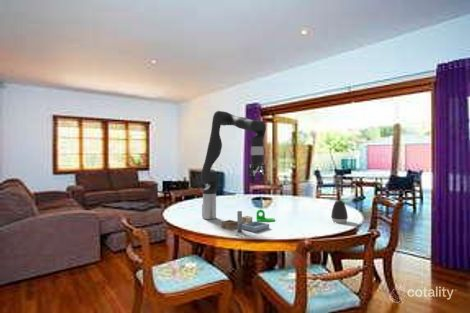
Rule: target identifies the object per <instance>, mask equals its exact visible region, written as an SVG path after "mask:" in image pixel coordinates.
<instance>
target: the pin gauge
mask: <svg viewBox="0 0 470 313" xmlns="http://www.w3.org/2000/svg"><path fill="white" fill-rule="evenodd" d="M242 217H243V211H242V210H238V211H237V228H236V229H237V231H236V232H237V233H240V234H241V233H242V232H243V230H242Z"/></svg>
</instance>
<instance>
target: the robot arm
mask: <svg viewBox="0 0 470 313" xmlns="http://www.w3.org/2000/svg"><path fill="white" fill-rule="evenodd" d="M221 126H224V127H225V126H234V127H236V128H238V129H241V130H245V131H249V132H251V133H255V136H252V137H251V140H250V142H251V144H250V163H251V164H248V176H249V175H250V182H251V183H255V182H256V173H258V174H259V182H263V181H264V175H265V174H266V164H265V163H264V159H265V158H264V156H265V155H264V154H265V153H264V152H265V151H264V138H265V136H266V134H265V133H266V130H267V129H266V128H267V126H266V124H265V122H264V121H263V120H256V119H251V118H247V117H244V116H243V117H242V116H236V115H234V114H231V113H229V112H227V111H224V110H223V111H222V110H217V111H215V112H214V113H213V116H212V123H211V129H210V136H209V142H208V145H207V150H206V155H205V160H204V163H203V166H202V169H201V172H200V183H201V184H203V185H207V186H206V187H205V188H203V190H202V203H201V218H202V219H205V220H214V219H217V190H218V173H217V171H215V170H213V169H212V167H213V165H214V164H215V162H216V161H217V160H218V158H219V157H220V155H221V152H222V148H223V142H222V138H221V136H220V131H221Z"/></svg>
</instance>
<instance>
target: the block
mask: <svg viewBox="0 0 470 313" xmlns="http://www.w3.org/2000/svg"><path fill="white" fill-rule="evenodd" d="M250 222H253V216H249V215H244V216H243V215H242V224H246V223H250Z"/></svg>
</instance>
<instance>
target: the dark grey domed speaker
mask: <svg viewBox="0 0 470 313" xmlns="http://www.w3.org/2000/svg"><path fill="white" fill-rule="evenodd" d="M345 204H346V203H345V202H344V201H343V200H340V199H337V200H336V201H335V202H334V204H333V206H332V209H331V216H330V217H331V220H332V221H333V223H335V222H336V224H345V223H346V222H347V220H348V219H349V217H348V216H349V214H348V211H347V207H346V205H345Z"/></svg>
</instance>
